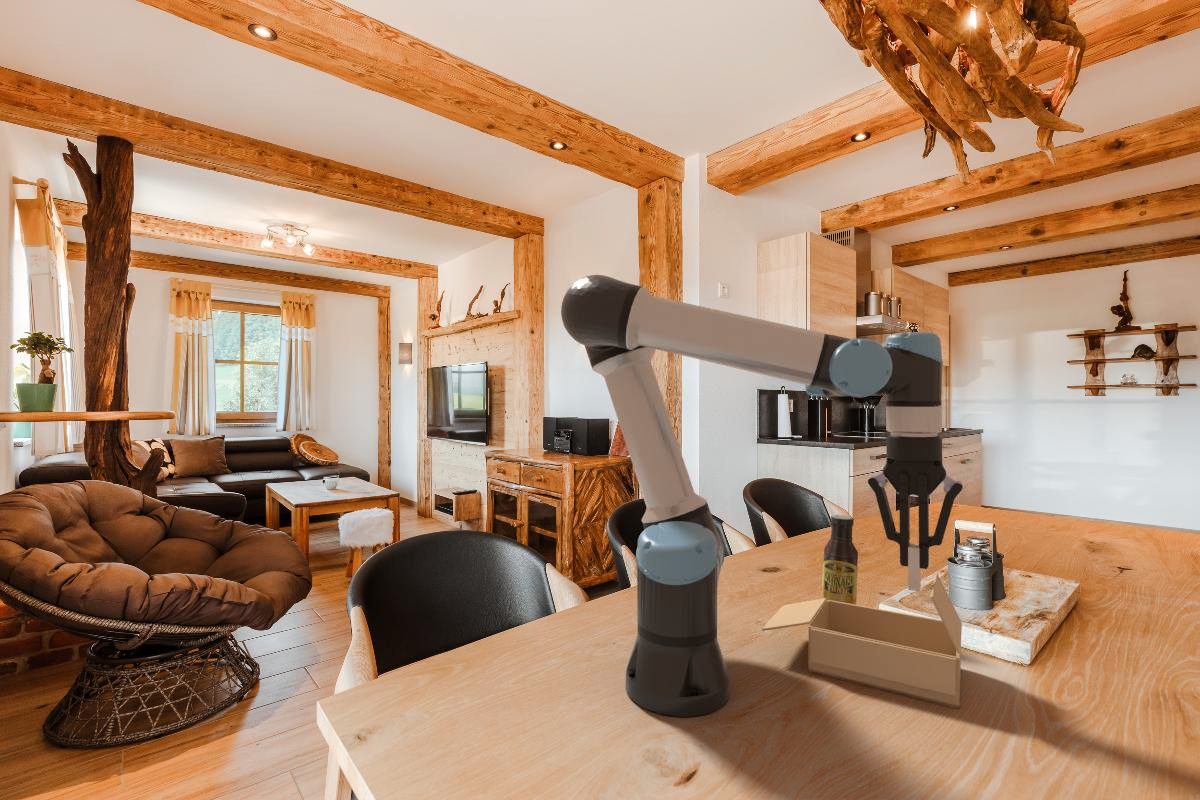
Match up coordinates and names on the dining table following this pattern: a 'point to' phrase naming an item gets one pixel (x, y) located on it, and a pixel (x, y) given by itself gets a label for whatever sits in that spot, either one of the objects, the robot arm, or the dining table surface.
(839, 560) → the sauce bottle
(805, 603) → the flap inner
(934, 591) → the flap outer
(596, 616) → the dining table surface
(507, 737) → the dining table surface
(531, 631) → the dining table surface
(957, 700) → the carton
